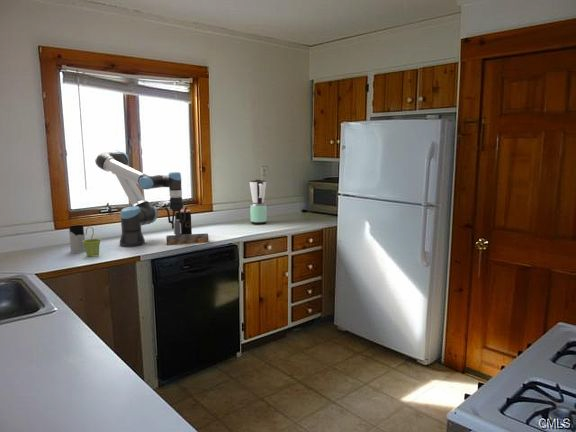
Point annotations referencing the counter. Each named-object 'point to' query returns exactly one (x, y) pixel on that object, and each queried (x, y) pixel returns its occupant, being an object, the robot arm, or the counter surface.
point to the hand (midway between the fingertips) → (177, 233)
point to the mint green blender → (258, 202)
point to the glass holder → (77, 238)
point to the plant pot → (92, 247)
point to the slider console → (187, 239)
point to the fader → (177, 228)
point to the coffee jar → (187, 224)
